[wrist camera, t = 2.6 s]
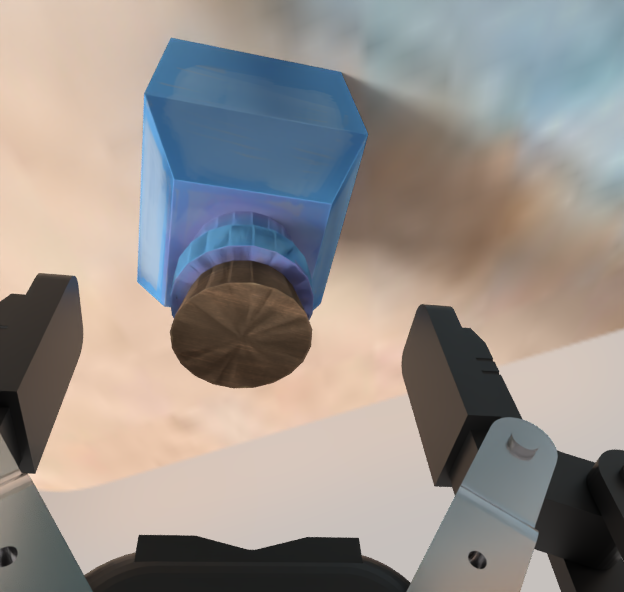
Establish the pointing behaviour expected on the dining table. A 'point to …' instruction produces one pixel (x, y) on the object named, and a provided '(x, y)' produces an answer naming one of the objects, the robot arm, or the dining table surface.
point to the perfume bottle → (243, 204)
